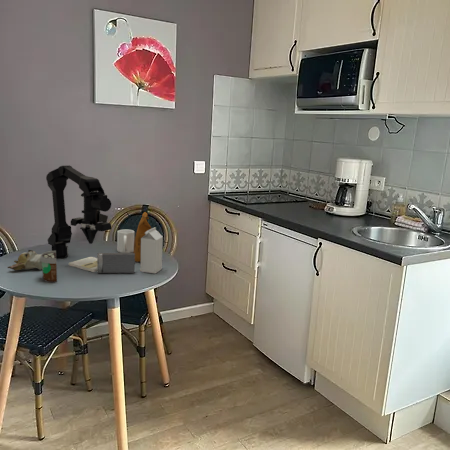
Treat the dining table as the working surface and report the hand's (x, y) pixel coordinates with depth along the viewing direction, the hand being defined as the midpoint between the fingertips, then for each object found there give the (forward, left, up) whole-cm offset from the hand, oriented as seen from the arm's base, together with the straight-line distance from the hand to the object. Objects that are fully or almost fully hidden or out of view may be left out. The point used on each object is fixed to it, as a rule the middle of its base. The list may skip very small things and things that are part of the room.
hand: (90, 243), depth 197 cm
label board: (0, +4, -11) cm, 12 cm away
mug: (+14, +26, -11) cm, 32 cm away
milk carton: (+26, -4, -11) cm, 28 cm away
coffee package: (+23, +14, -11) cm, 29 cm away
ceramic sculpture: (-25, -1, -11) cm, 28 cm away
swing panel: (+11, -7, -10) cm, 17 cm away
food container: (-15, -14, -11) cm, 23 cm away
